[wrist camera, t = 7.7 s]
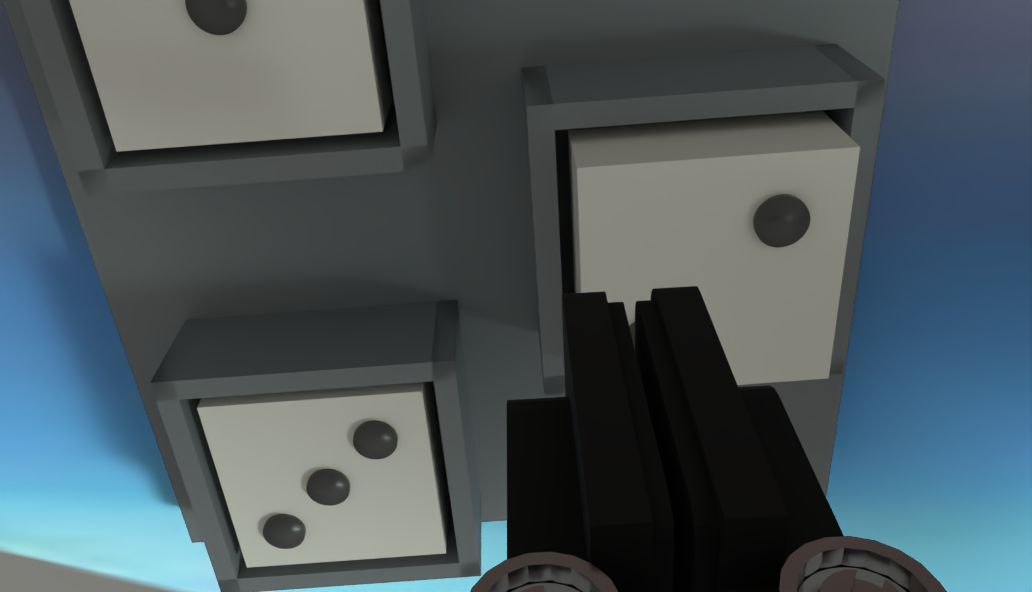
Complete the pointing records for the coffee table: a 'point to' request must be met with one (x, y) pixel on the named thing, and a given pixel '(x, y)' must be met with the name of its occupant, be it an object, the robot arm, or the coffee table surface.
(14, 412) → the coffee table surface
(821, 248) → the button two
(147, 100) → the button one
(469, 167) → the button board
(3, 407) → the coffee table surface
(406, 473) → the button three
